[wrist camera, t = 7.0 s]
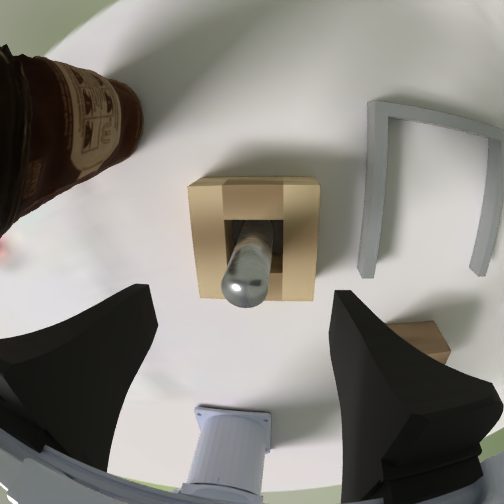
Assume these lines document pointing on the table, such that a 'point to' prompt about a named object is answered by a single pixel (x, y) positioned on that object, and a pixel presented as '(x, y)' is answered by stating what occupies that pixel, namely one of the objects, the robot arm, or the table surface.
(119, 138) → the coffee cup
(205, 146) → the table surface
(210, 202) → the oak block
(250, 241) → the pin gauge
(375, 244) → the grey arch piece
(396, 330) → the walnut block
